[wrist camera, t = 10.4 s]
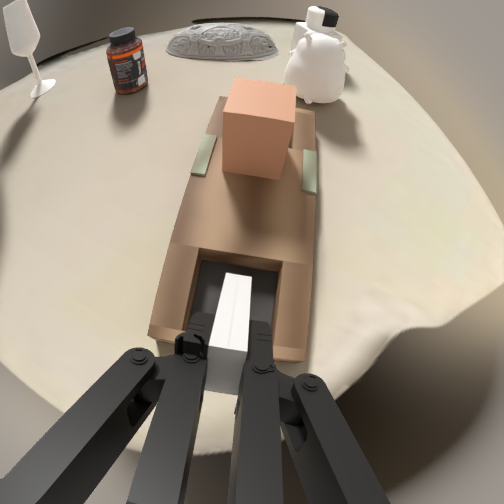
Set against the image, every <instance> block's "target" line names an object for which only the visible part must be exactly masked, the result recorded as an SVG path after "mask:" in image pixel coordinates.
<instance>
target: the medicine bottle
mask: <svg viewBox="0 0 504 504" xmlns="http://www.w3.org/2000/svg"><path fill="white" fill-rule="evenodd" d="M338 17H339V16H338V14H337V13H336V12H334V11H333V10H331V9H328V8H324V7H319V6H312V7H309V9H308V13H307V17H306V22H296V25H295V30H294V35H293V40H292V45H291V49H292V50H295V49H296V47H297V45H298V41H299V40H301V39H303V38H305V37H304V34H305V33H306V32H307V31H310V30H312V31H315V32H316V33H322V34H325V35H327V36H330V37H332V38H335V39H338V40H339V41H340V42H341V41H342V35H340V34H339V33H337V32H336V31H334V30H335V28H336V24H337V21H338Z"/></svg>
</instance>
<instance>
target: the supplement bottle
mask: <svg viewBox="0 0 504 504" xmlns="http://www.w3.org/2000/svg"><path fill="white" fill-rule="evenodd" d="M109 38H110V42H111V44H110V45H109V46H108V48H107V50H106V54H107V59H108V63H109V67H110V71H111V75H112V79H113V83H114V87H115V90H116V91H117V92H118V93H121V94H128V93H133V92H136V91H138V90H140V89H142V88H143V87H144V86H145V85H146V84H147V82H148V78H147V70H146V64H145V58H144V51H143V45H142V40H141V39H140V38H138V37H136V36H135V31H134V28H132V27H127V28H122V29H119V30H117V31H114V32H113V33H111V34H110V35H109Z"/></svg>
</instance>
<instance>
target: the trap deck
mask: <svg viewBox="0 0 504 504" xmlns="http://www.w3.org/2000/svg"><path fill="white" fill-rule="evenodd" d="M227 99H228V97H222V96H220V97H219V100H218V102H217V105H216V107H215V110H214V112H213V115H212V117H211V120H210V122H209V125H208V128H207V130H206V133H205V134H204V136H203V139H202V142H201V144H200V147H199V150H198V153H197V155H196V158H195V161H194V164H193V167H192V170H191V175H190V178H189V181H188V184H187V187H186V190H185V194H184V197H183V200H182V203H181V206H180V210H179V213H178V216H177V219H176V223H175V226H174V230H173V233H172V237H171V240H170V244H169V247H168V251H167V255H166V258H165V262H164V266H163V270H162V274H161V278H160V282H159V286H158V290H157V294H156V298H155V303H154V307H153V311H152V316H151V320H150V325H149V330H148V335H147V336H149V337H151V338H153V339H155V340H158V341H163V342H167V343H172V344H175V338H176V337H177V335H179V334H181V333H183V332H186V330H187V327H188V325H189V322H190V320H189V319H191V316H193V315H194V314H195V313H196V312H204V313H209V314H215V315H216V312H217V308H218V304H219V300H220V295H221V291H222V287H223V283H224V279H225V275H226V273H231V274H237V275H243V276H249V277H252V280H251V297H250V315H249V319H250V320H257V321H264V322H268V324H269V325H270V327H271V328H272V342H273V360H275V361H284V362H294V363H298V362H303V361H305V358H306V349H307V339H308V328H309V316H310V304H311V290H312V274H313V255H314V232H315V198H316V196H317V154H316V144H315V111H310V110H306V109H301V108H296V107H295V123H294V127H293V131H292V134H291V138H290V143H289V146H288V150H287V153H286V157H285V161H284V165H283V168H282V172H281V176H280V180H274V179H269V178H263V177H257V176H250V175H244V174H237V173H230V172H223V171H222V132H223V110H224V107H225V104H226V102H227ZM201 261H202V262H201ZM200 266H201V267H200ZM199 270H200V271H199ZM198 275H199V276H198ZM276 279H277V281H276ZM197 280H198V281H197ZM275 288H276V290H275ZM195 289H196V290H195ZM194 294H195V295H194ZM274 297H275V299H274ZM193 299H194V300H193ZM192 304H193V305H192ZM273 305H274V307H273ZM191 309H192V310H191ZM272 313H273V316H272ZM190 314H191V315H190ZM271 322H272V324H271Z"/></svg>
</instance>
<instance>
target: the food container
mask: <svg viewBox="0 0 504 504" xmlns="http://www.w3.org/2000/svg"><path fill="white" fill-rule="evenodd" d="M257 39H258V40H257ZM260 41H261V42H260ZM268 43H269V44H270V45H269V44H268ZM208 46H211V47H209V48H207V47H208ZM269 46H272V47H270V48H268V47H269ZM273 46H274V47H273ZM165 47H166V53H167V54H168V55H173V56H176V57H182V58H192V59H211V60H222V61H240V60H243V61H244V60H267V59H271V58H274V57H276V56H277V55H278V54H279V52H278V49H277V48H276V46H275V43H274V42H273V40H272V39H271V37H270V36H269V35H268V34H266V33H265V32H263V31H261V30H259V29H257V28H254V27H252V26H249V25H246V24H236V23H207V24H199V25H195V26H192V27H189V28H187V29H184V30H182V31H180V32H178V33H177V34H175V35H174V36H173V37H172V39H171V40H170V41H169V42H168V43H167V44H166V45H165ZM262 48H263V50H262ZM274 48H275V49H274ZM214 49H215V50H214ZM246 55H247V56H246Z"/></svg>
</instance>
